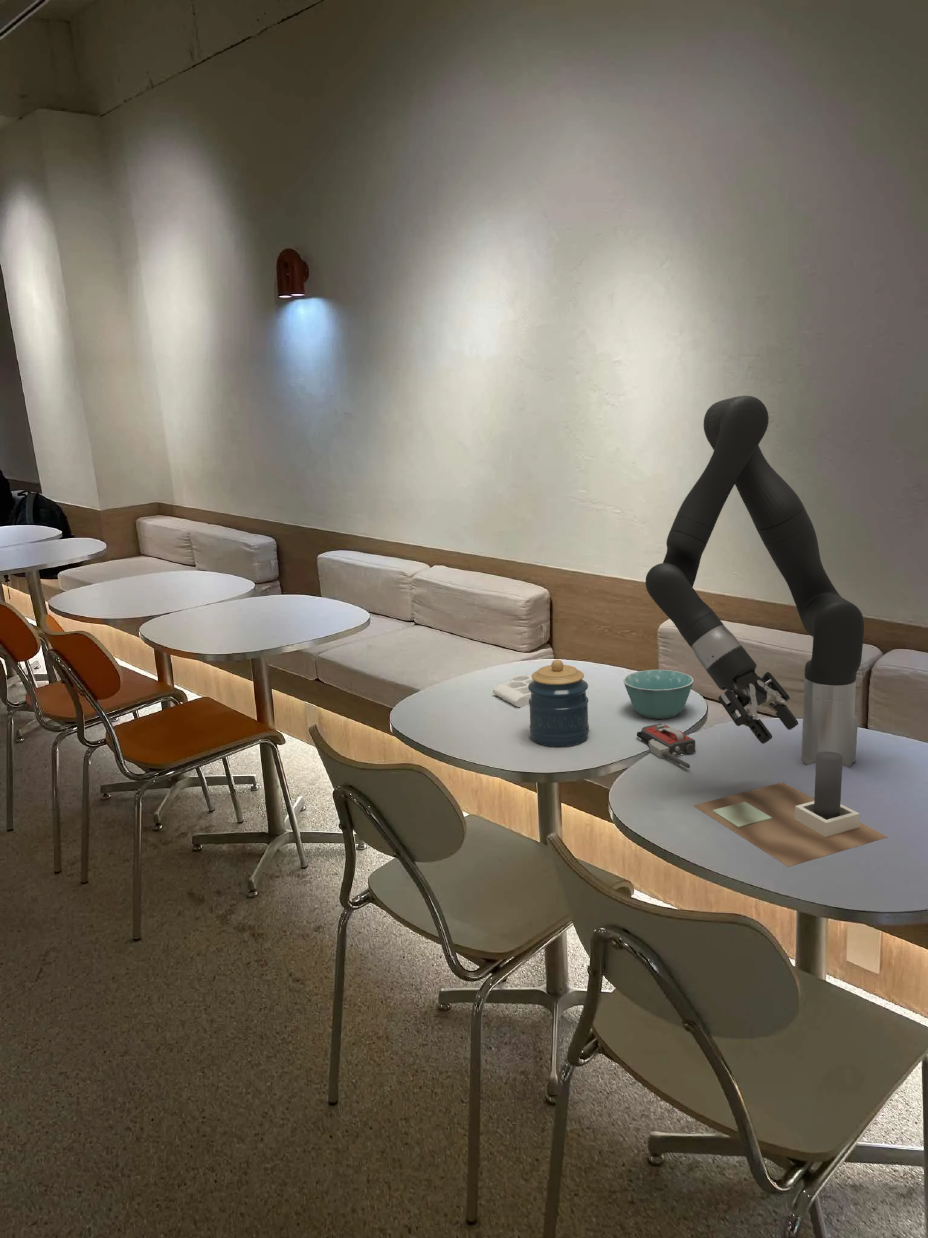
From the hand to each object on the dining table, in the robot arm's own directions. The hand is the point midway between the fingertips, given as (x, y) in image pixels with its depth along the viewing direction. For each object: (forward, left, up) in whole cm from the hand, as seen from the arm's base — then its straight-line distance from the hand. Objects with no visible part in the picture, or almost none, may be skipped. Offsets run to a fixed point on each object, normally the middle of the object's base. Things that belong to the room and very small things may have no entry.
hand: (781, 733), depth 152 cm
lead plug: (-3, +8, -14) cm, 16 cm away
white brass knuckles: (+9, -80, -16) cm, 82 cm away
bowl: (-12, -54, -16) cm, 57 cm away
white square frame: (-3, +8, -14) cm, 16 cm away
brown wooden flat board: (+2, +4, -15) cm, 16 cm away
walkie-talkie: (-1, -33, -16) cm, 37 cm away
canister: (+15, -52, -15) cm, 56 cm away
